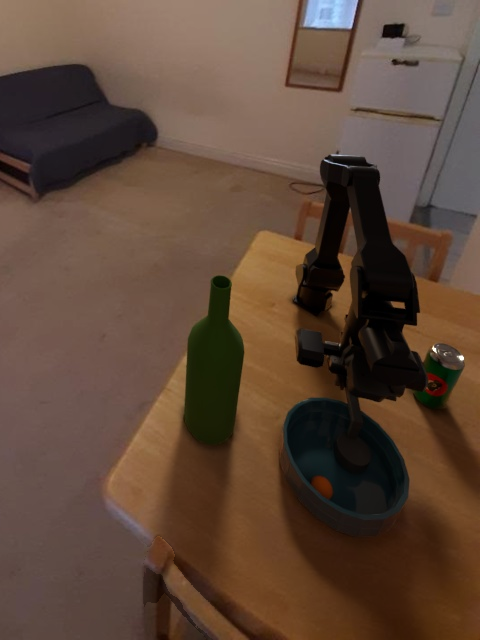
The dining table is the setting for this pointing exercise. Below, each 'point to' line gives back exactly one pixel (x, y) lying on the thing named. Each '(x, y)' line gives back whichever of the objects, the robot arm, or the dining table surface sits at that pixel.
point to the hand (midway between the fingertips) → (346, 389)
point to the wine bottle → (213, 369)
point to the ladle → (352, 438)
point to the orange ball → (322, 486)
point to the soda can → (440, 375)
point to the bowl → (342, 469)
